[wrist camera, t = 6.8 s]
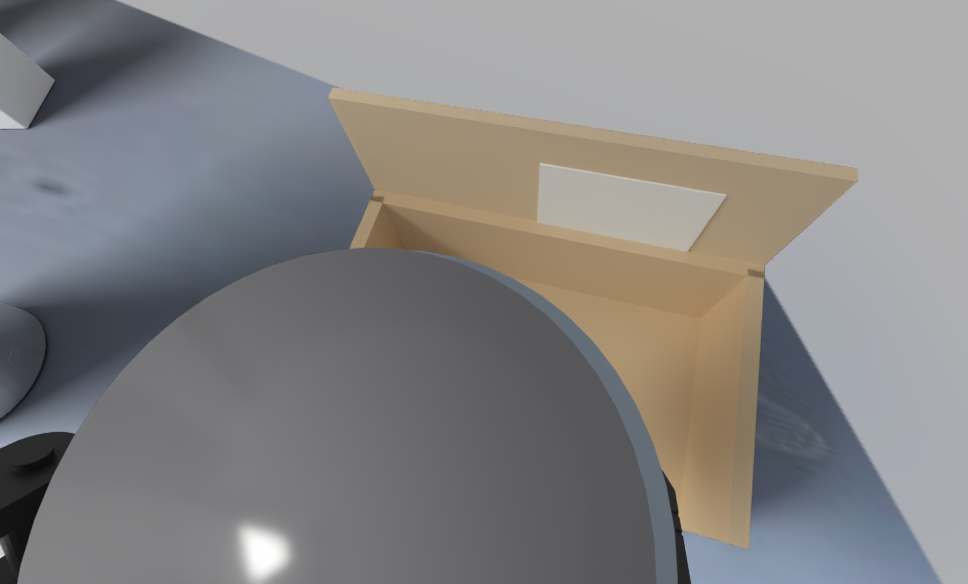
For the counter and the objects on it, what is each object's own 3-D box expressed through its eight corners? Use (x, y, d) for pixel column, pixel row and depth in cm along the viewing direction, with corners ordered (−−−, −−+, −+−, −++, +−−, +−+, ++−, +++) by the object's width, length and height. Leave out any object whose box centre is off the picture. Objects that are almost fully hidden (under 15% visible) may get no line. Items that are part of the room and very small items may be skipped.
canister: (358, 561, 15) (-232, 854, 3) (419, 385, 17) (199, 167, 5) (537, 626, 14) (645, 1406, 2) (577, 430, 16) (743, 287, 4)
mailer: (334, 426, 29) (181, 380, 16) (406, 238, 34) (332, 87, 21) (690, 532, 25) (868, 585, 12) (713, 303, 30) (857, 168, 17)
